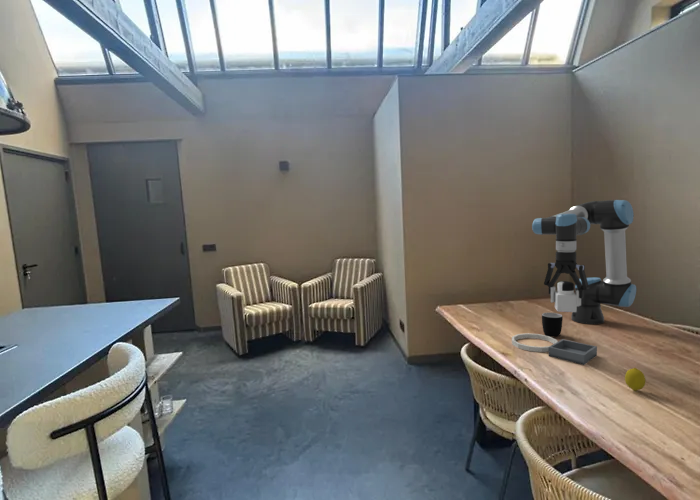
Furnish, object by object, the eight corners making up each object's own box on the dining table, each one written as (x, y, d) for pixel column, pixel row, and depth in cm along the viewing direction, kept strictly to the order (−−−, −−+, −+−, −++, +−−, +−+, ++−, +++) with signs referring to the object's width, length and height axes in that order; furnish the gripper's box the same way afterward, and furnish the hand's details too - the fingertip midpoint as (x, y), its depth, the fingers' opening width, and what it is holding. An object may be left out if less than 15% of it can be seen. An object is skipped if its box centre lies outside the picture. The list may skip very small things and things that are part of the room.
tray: (562, 347, 172) (562, 339, 171) (596, 355, 161) (597, 346, 161) (548, 356, 163) (548, 347, 163) (583, 365, 153) (584, 355, 152)
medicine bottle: (573, 308, 165) (573, 280, 164) (576, 312, 158) (577, 283, 157) (554, 307, 168) (554, 280, 166) (557, 311, 161) (557, 283, 160)
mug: (565, 338, 184) (565, 317, 183) (545, 338, 185) (545, 317, 184) (555, 330, 196) (555, 310, 195) (536, 330, 197) (536, 311, 196)
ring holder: (524, 334, 191) (524, 331, 191) (565, 343, 176) (565, 339, 176) (504, 344, 179) (504, 340, 179) (546, 355, 165) (546, 350, 164)
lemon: (620, 387, 133) (621, 365, 132) (635, 386, 134) (636, 364, 133) (633, 395, 128) (634, 372, 127) (649, 393, 128) (650, 370, 127)
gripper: (535, 250, 167) (534, 301, 169) (591, 253, 150) (590, 310, 152) (543, 248, 172) (543, 298, 174) (599, 251, 154) (598, 306, 156)
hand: (565, 303), depth 163 cm, fingers closed on medicine bottle, 9 cm apart
